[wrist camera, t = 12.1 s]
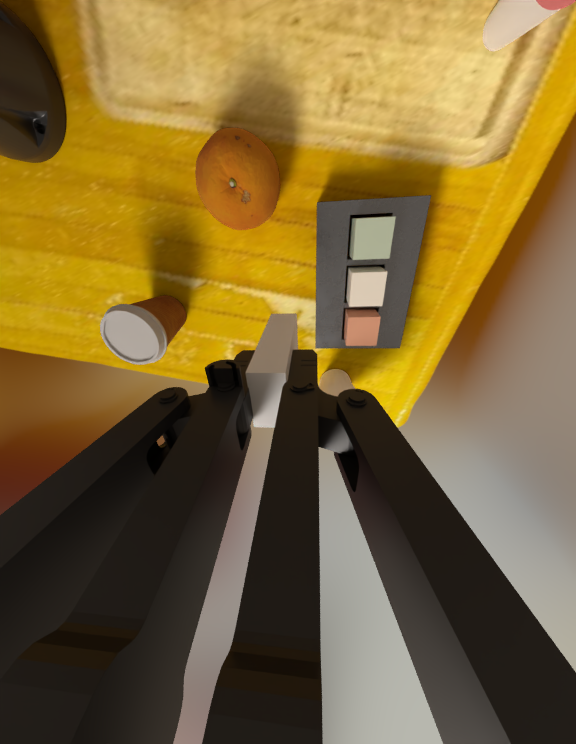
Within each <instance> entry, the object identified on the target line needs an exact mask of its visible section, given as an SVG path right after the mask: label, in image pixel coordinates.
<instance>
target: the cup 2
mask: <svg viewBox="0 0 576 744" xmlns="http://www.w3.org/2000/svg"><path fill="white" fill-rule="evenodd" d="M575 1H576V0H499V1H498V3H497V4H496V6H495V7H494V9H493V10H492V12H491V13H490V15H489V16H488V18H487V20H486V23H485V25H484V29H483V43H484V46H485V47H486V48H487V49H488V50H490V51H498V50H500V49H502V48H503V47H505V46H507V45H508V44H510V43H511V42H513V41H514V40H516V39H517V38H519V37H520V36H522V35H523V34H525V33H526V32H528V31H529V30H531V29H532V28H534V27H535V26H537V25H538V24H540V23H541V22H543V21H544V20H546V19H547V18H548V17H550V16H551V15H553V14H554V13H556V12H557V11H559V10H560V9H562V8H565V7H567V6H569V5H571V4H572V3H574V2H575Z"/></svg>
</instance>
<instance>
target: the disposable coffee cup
mask: <svg viewBox="0 0 576 744" xmlns="http://www.w3.org/2000/svg"><path fill="white" fill-rule="evenodd" d="M185 321H186V311H185V309H184V307H183V305H182V304H181V303H180V302H179V301H178V300H177V299H175V298H173V297H171V296H167V295H163V296H159V297H155V298H151V299H148V300H144V301H140V302H137V303H133V304H119V305H116V306H113V307H111V308H110V309H108V311H107V312H106V313H105V315H104V317H103V319H102V320H101V324H100V331H101V336H102V338H103V340H104V342H105V344H106V345H107V347H108V348H109V349H110V350H111V351H112V352H113V353H114V354H115V355H116V356H118V357H119V358H121V359H123V360H125V361H127V362H129V363H133V364H140V365H141V364H148V363H153V362H155V361H157V360H159V359H160V358H161V357H162V356H163V355H164V354H165V351H166V349H167V346H168V344H169V343H170V342H171V340H172V339H173V338H174V336H175V335H176V334H177V332H178V331H179V330H180V328H181V327H182V326H183V325H184V323H185Z"/></svg>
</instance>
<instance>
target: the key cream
mask: <svg viewBox="0 0 576 744" xmlns="http://www.w3.org/2000/svg"><path fill="white" fill-rule="evenodd" d="M386 279H387V271H386V270H385V269H383V268H382V267H381V266H380V265H373V266H348V271H347V285H346V299H347V302H348V305H349V307H363V306H382V305H383V299H384V292H385V285H386Z"/></svg>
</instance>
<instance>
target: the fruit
mask: <svg viewBox="0 0 576 744" xmlns="http://www.w3.org/2000/svg"><path fill="white" fill-rule="evenodd" d="M196 185H197V189H198V193H199V196H200V198H201V200H202V202H203V203H204V205H205V207H206V208H207V209H208V210H209V212H210V213H211V214H212V215H213V216H214V217H215V218H216V219H217V220H218V221H219V222H221V223H223V224H224V225H226V226H228V227H230V228H232V229H236V230H246V229H251V228H255V227H257V226H259V225H261V224H263V223H264V222H265V221H266V220H268V219H269V218H270V216H271V215H272V214H273V212H274V210H275V208H276V205H277V201H278V198H279V192H280V177H279V170H278V166H277V163H276V160H275V158H274V155H273V154H272V152H271V151H270V150H269V149H268V147H267V146H266V145H265V144H264V143H263V142H262V141H261V140H260V139H259V138H257V137H256V136H255V135H253V134H252V133H250V132H248V131H246V130H243V129H240V128H224V129H221V130H219V131H217V132H216V133H214V134H213V135H212V136H211V137H210V139H209V140H208V141H207V143H206V144H205V145H204V147H203V148H202V150H201V151H200V153H199V155H198V158H197V162H196Z"/></svg>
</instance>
